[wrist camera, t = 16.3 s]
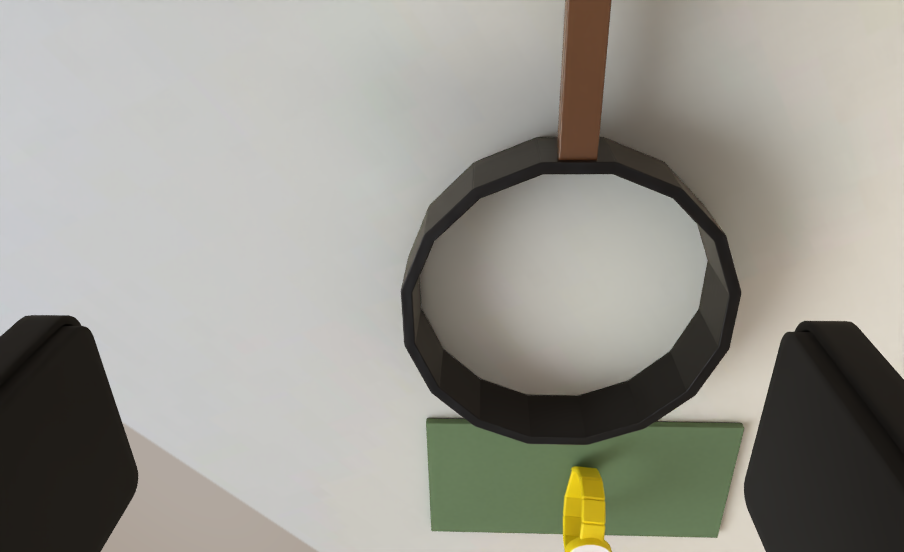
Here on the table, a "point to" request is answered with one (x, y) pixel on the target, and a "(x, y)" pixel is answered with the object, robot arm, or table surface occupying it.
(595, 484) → the watch
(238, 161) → the table surface
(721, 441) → the mat
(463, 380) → the pan
